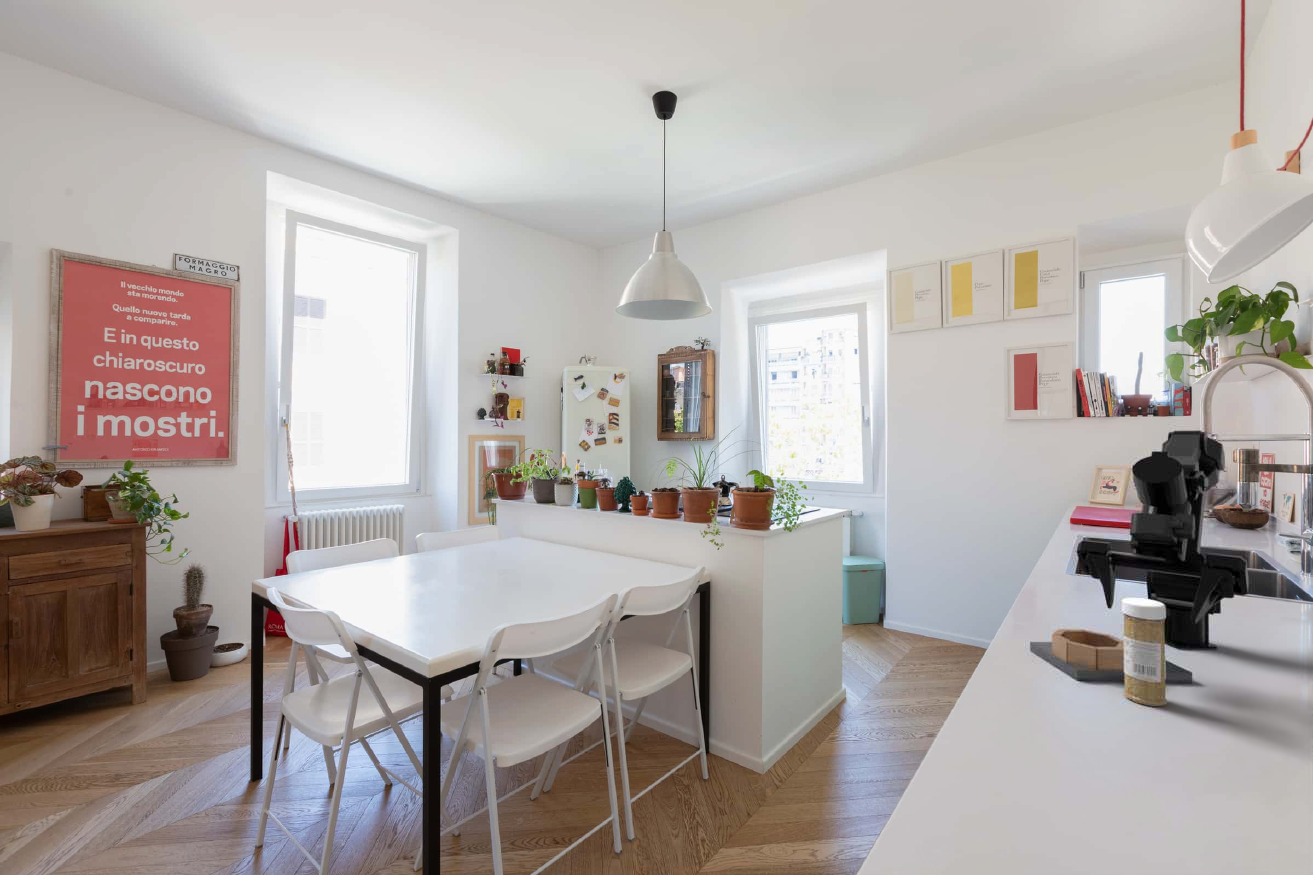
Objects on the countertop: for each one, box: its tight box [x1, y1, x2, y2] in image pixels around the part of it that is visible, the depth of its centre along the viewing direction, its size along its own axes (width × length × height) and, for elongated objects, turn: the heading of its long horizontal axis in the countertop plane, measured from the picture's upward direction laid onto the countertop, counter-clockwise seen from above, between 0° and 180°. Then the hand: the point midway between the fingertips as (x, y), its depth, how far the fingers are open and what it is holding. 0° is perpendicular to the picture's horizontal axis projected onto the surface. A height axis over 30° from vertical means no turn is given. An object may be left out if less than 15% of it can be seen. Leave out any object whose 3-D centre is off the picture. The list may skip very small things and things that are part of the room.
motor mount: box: [1029, 628, 1193, 684], centre depth 91 cm, size 16×12×4 cm
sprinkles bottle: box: [1121, 597, 1167, 707], centre depth 79 cm, size 5×5×14 cm
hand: (1149, 613), depth 82 cm, fingers open, 9 cm apart
